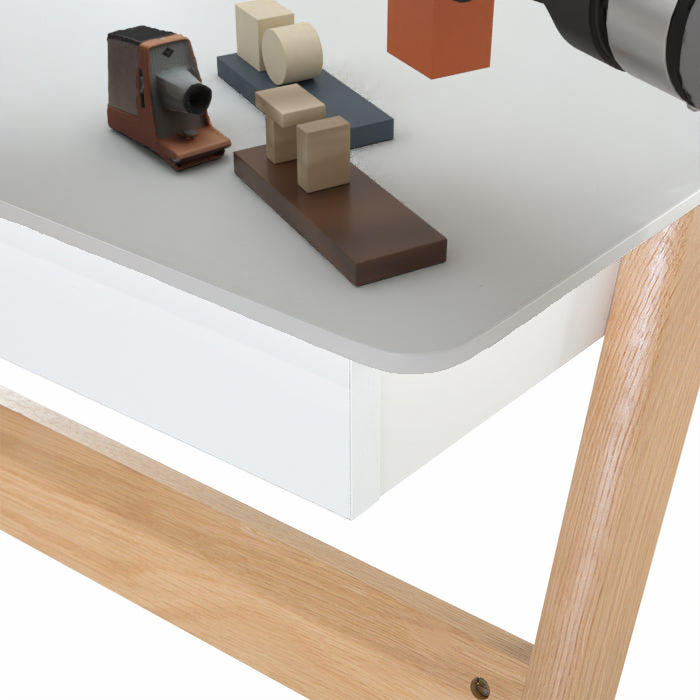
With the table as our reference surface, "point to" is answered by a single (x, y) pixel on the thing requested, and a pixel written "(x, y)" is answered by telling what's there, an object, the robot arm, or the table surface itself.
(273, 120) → the blocks on brown board
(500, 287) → the table surface
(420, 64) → the terracotta cuboid
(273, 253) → the table surface
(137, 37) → the electronic device
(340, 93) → the wooden block set
